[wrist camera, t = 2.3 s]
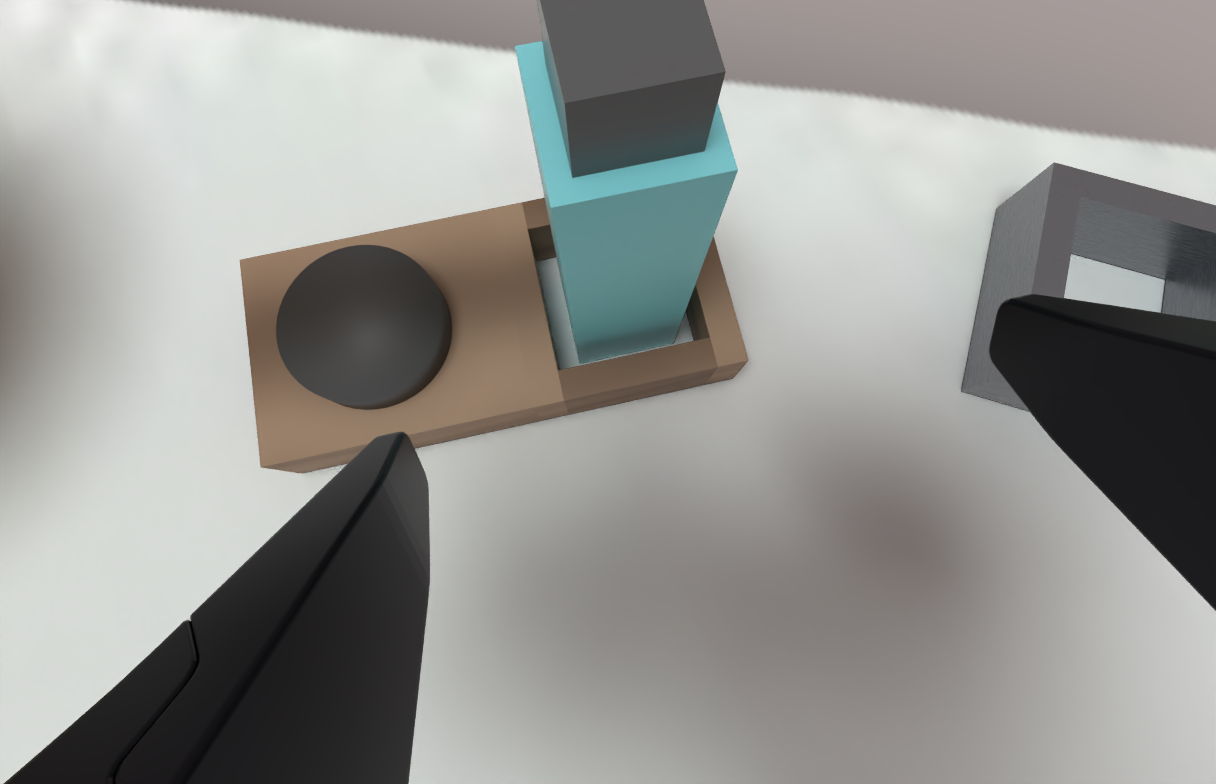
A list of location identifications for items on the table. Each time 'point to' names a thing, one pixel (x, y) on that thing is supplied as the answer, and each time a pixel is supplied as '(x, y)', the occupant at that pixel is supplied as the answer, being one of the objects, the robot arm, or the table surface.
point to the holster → (440, 339)
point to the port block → (1089, 252)
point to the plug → (628, 161)
